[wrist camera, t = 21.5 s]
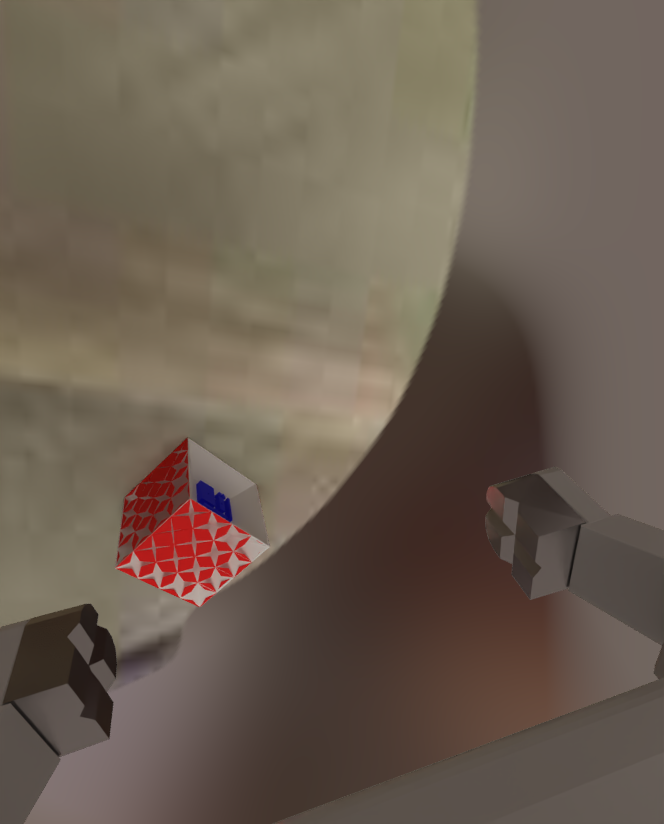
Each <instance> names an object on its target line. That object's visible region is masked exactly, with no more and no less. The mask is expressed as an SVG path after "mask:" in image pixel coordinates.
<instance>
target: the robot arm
mask: <svg viewBox="0 0 664 824" xmlns="http://www.w3.org/2000/svg"><path fill="white" fill-rule="evenodd" d="M487 502H488V503H489V504H490V506H491V507H492V508H491V509H490V511H489V512H488V513H487V515H486V531H487V535H488V538H489V541H490V543H491V545H492V547H493V549H494V550H495V552H496V553H497V555H498V556H499V558H501V559H503V560H505V561H507V562H509V563H511V564H513V565H512V576H513V577H514V578H515V580H516V581H517V582H518V584H519V585H520V587H521V588H522V589H523V591H524V592H525V593H526V595H527V596H528V597H529V599H530V600H531V599H534V598H538V597H541V596H544V595H548V594H551V593H554V592H558V591H561V590H565V589H568V588H569V591H570V592H572V593H573V594H575V595H577V596H578V597H580V598H582V599H583V600H585V601H587V602H588V603H590V604H592V605H594V606H595V607H597V608H599V609H600V610H602V611H604V612H606V613H607V614H609V615H611V616H612V617H614V618H616V619H617V620H619V621H621V622H623V623H624V624H626V625H628V626H630V627H631V628H633V629H634V630H636V631H638V632H640V633H641V634H643V635H645V636H647V637H648V638H650V639H651V640H653V641H655V642H657V643H658V644H660V645H662V648H661V650H660V653H659V656H658V658H657V661H656V664H655V668H654V674H655V675H656V676H657V678H658V679H659V680H656V681H654V682H651V683H648V684H646V685H643V686H640V687H638V688H635V689H632V690H630V691H627V692H624V693H621V694H619V695H616V696H613V697H611V698H608V699H606V700H603V701H600V702H598V703H595V704H592V705H589V706H587V707H584V708H581V709H579V710H576V711H573V712H570V713H568V714H565V715H563V716H560V717H557V718H555V719H552V720H549V721H546V722H544V723H541V724H538V725H536V726H533V727H531V728H528V729H525V730H522V731H520V732H517V733H514V734H512V735H509V736H506V737H504V738H501V739H498V740H495V741H493V742H490V743H487V744H485V745H482V746H480V747H477V748H474V749H471V750H469V751H466V752H463V753H461V754H458V755H456V756H453V757H450V758H447V759H444V760H442V761H440V762H436V763H434V764H431V765H429V766H426V767H423V768H420V769H418V770H415V771H412V772H410V773H407V774H404V775H402V776H399V777H396V778H394V779H391V780H388V781H386V782H383V783H380V784H377V785H375V786H372V787H369V788H367V789H364V790H362V791H359V792H356V793H354V794H351V795H348V796H345V797H343V798H340V799H337V800H335V801H332V802H329V803H327V804H324V805H321V806H319V807H316V808H313V809H311V810H308V811H305V812H303V813H300V814H297V815H295V816H292V817H289V818H287V819H284V820H281V821H278V822H276V823H273V824H664V530H661V529H659V528H655V527H653V526H650V525H647V524H645V523H642V522H639V521H636V520H633V519H631V518H628V517H625V516H622V515H619V514H615V515H612V516H611V515H610V514H609V513H608V512H607V511H606V510H604V509H603V508H602V507H601V506H600V505H599V504H598V503H597V502H596V501H595V500H594V499H593V498H591V497H590V496H589V495H588V494H587V493H586V492H585V491H584V490H583V489H582V488H581V487H580V486H578V485H577V484H576V483H575V482H574V481H573V480H572V479H571V478H570V477H569V476H568V475H567V474H566V473H564V472H563V471H562V470H561V469H559V468H557V467H553V468H549V469H546V470H543V471H539V472H536V473H533V474H529V475H525V476H522V477H519V478H516V479H512V480H509V481H505V482H502V483H499V484H496V485H493V486H490V487H489V489H488V491H487ZM97 621H98V613H97V612H96V610H95V609H94V607H93V606H92V604H83V605H79V606H76V607H72V608H68V609H64V610H61V611H57V612H53V613H49V614H45V615H42V616H38V617H34V618H31V619H28V620H25V621H21V622H17V623H13V624H10V625H6V626H2V627H1V628H0V824H24V822H25V820H26V819H27V817H28V815H29V814H30V812H31V810H32V808H33V807H34V805H35V803H36V801H37V800H38V798H39V796H40V795H41V793H42V791H43V789H44V788H45V786H46V784H47V783H48V781H49V779H50V777H51V776H52V774H53V772H54V770H55V769H56V767H57V765H58V763H59V762H60V758H59V757H61V756H64V755H67V754H69V753H72V752H75V751H78V750H81V749H84V748H86V747H89V746H92V745H95V744H97V743H100V742H103V741H105V740H108V739H109V737H110V728H111V719H112V711H113V701H112V699H111V698H110V696H109V695H108V693H107V691H108V690H109V688H110V687H111V685H112V684H113V682H114V681H115V679H116V671H117V658H116V648H115V645H114V642H113V639H112V636H111V635H110V633H109V631H108V630H107V629H106V628H103V627H100V626H98V625H97Z"/></svg>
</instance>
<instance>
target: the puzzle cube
mask: <svg viewBox="0 0 664 824" xmlns="http://www.w3.org/2000/svg"><path fill="white" fill-rule="evenodd" d="M269 547H270V544H269V540H268V535H267V530H266V526H265V521H264V516H263V512H262V507H261V502H260V498H259V493H258V488H257V484H255V483H254V482H252V481H251V480H249V479H248V478H246V477H245V476H243V475H242V474H240V473H239V472H237V471H236V470H235V469H233V468H232V467H230V466H229V465H227V464H226V463H224V462H223V461H221V460H220V459H218V458H217V457H216V456H214V455H213V454H211V453H210V452H208V451H207V450H205V449H204V448H202V447H201V446H199V445H198V444H197V443H195V442H194V441H192V440H191V439H189V438H188V437H187V439H186V440H185V441H184V442H182V443H181V444H180V445H179V446H178V447H177V448H176V449H175V450H174V451H173V452H172V453H171V454H170V455H169V456H168V457H167V458H166V459H165V460H164V461H163V462H161V463H160V464H159V465H158V466H157V467H156V468H155V469H154V470H153V471H152V472H151V473H150V474H149V475H148V476H147V477H146V478H145V479H144V480H143V481H142V482H141V483H139V484H138V485H137V486H136V487H135V488H134V489H133V490H132V491H131V492H130V493H129V494H128V495H127V496H126V497H125V498H124V502H123V510H122V518H121V525H120V533H119V541H118V548H117V556H116V563H115V568H116V569H118V570H120V571H122V572H125V573H127V574H129V575H131V576H133V577H135V578H138V579H140V580H142V581H144V582H146V583H148V584H150V585H153V586H155V587H157V588H159V589H161V590H163V591H166V592H168V593H170V594H172V595H174V596H176V597H179V598H181V599H183V600H185V601H187V602H189V603H192V604H194V605H196V606H198V607H201V606H202V605H203V604H204V603H205V602H207V601H208V600H209V599H210V598H211V597H212V596H214V595H215V594H216V593H217V592H218V591H219V590H220V589H222V588H223V587H224V586H225V585H226V584H227V583H229V582H230V581H231V580H232V579H233V578H234V577H235V576H237V575H238V574H239V573H240V572H241V571H242V570H243V569H245V568H246V567H247V566H248V565H249V564H250V563H252V562H253V561H254V560H255V559H256V558H257V557H258V556H260V555H261V554H262V553H263V552H264V551H265V550H267V549H268V548H269Z"/></svg>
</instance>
